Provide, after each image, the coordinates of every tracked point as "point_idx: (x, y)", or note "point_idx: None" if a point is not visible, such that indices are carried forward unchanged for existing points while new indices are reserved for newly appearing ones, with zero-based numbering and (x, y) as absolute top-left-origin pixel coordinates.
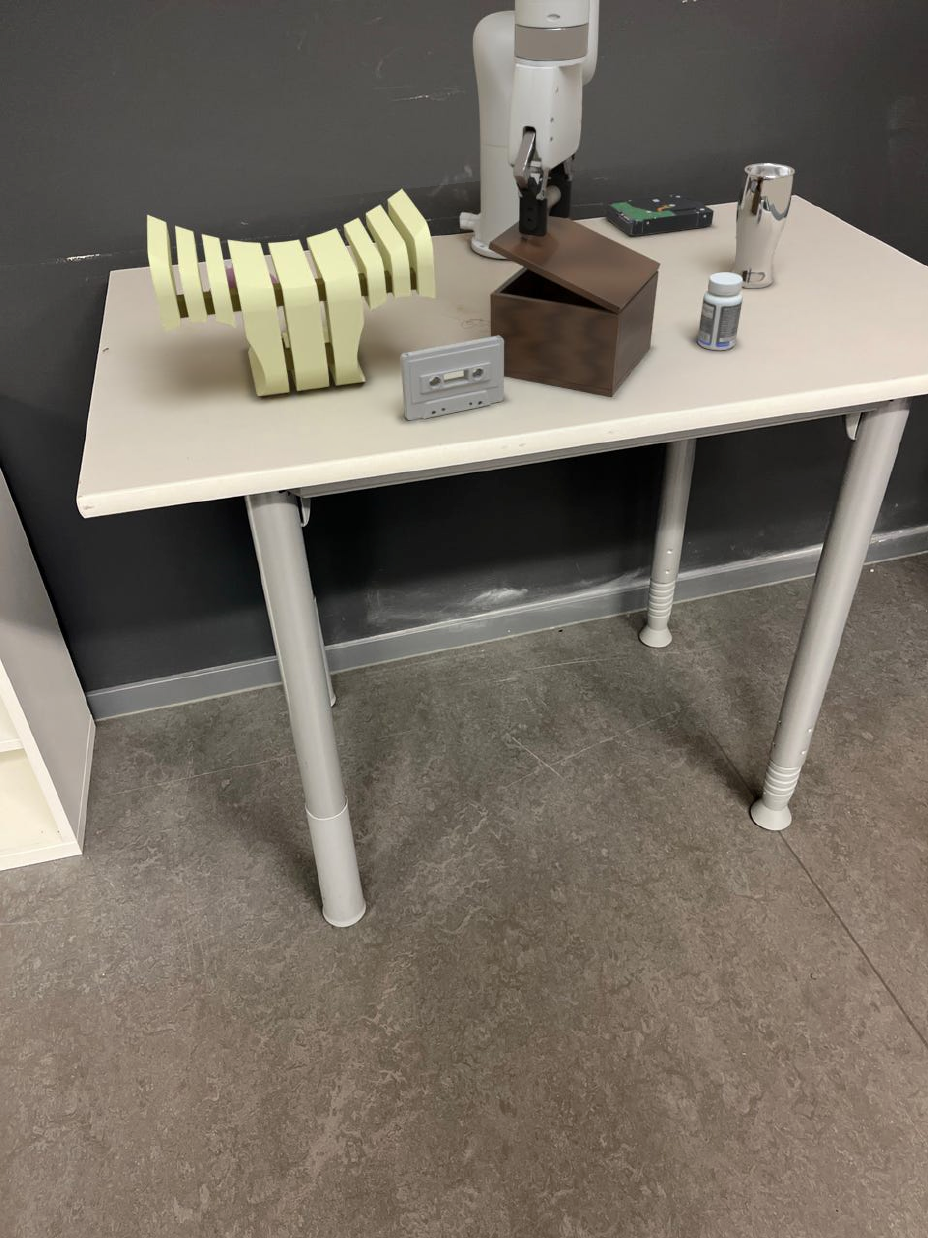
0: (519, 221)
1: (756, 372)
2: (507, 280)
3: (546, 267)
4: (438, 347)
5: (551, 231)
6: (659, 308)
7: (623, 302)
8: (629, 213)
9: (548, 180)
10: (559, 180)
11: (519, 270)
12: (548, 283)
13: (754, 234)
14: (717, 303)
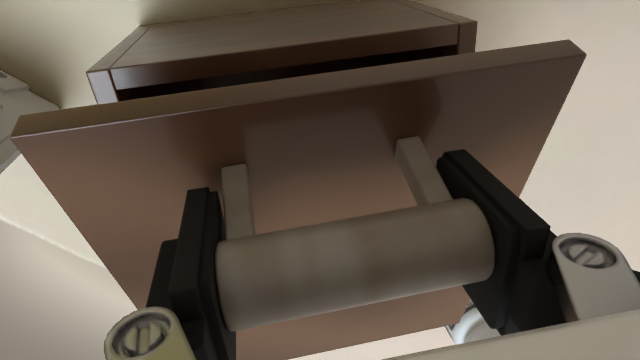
0: (184, 212)
1: (380, 341)
2: (218, 57)
3: (136, 285)
4: None
5: (382, 184)
6: (556, 156)
7: None
8: None
9: (518, 248)
10: (512, 302)
11: (315, 45)
12: (424, 50)
13: None
14: (453, 334)
